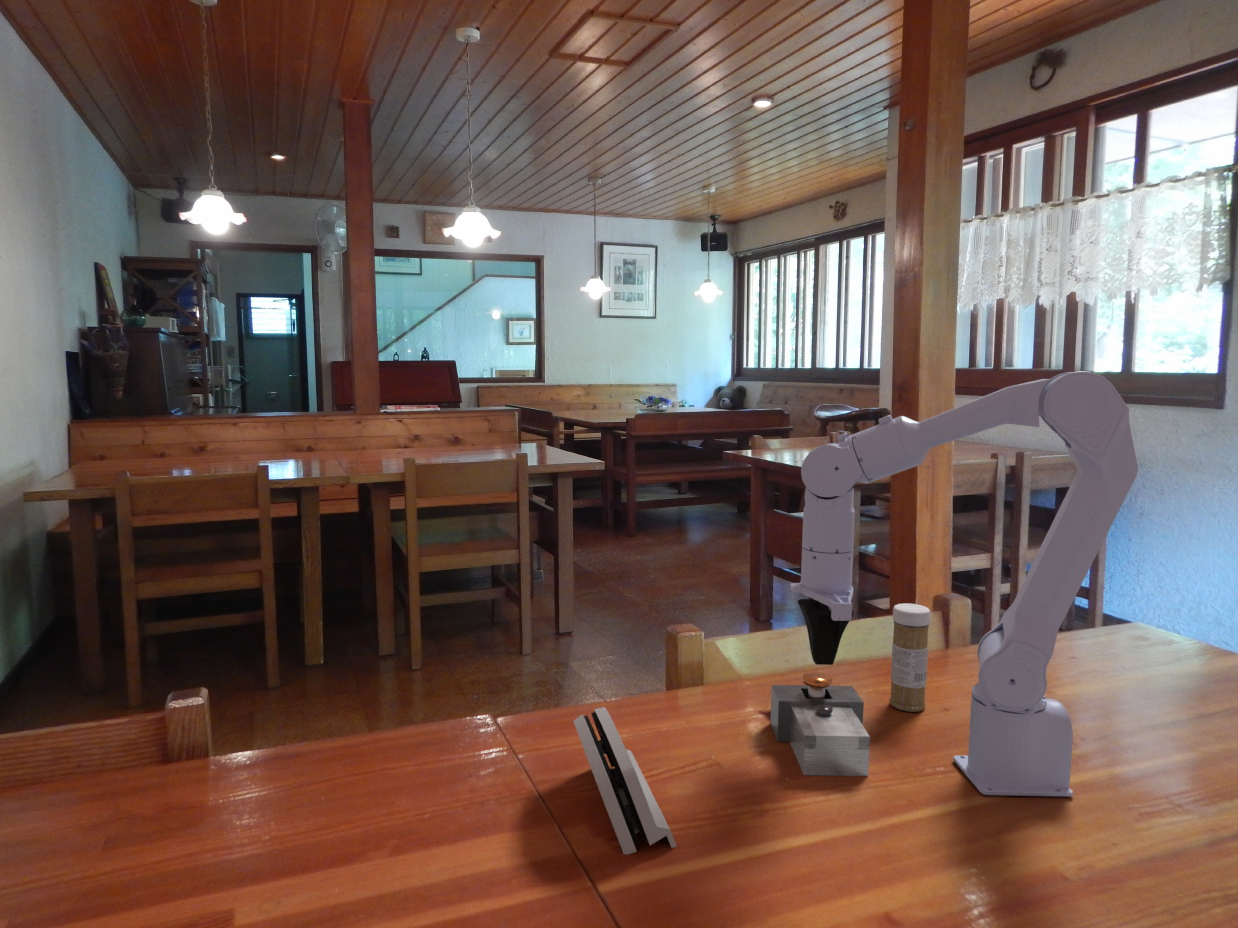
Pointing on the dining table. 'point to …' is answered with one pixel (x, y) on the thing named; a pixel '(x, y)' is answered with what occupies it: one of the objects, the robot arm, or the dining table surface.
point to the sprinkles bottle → (909, 657)
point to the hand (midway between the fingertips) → (822, 662)
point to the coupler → (807, 704)
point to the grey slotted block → (621, 784)
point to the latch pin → (816, 684)
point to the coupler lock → (829, 740)
